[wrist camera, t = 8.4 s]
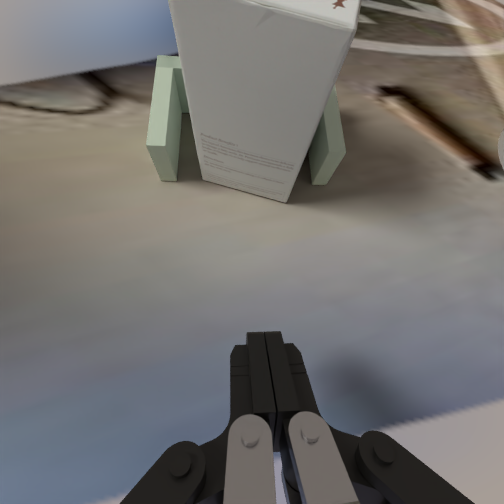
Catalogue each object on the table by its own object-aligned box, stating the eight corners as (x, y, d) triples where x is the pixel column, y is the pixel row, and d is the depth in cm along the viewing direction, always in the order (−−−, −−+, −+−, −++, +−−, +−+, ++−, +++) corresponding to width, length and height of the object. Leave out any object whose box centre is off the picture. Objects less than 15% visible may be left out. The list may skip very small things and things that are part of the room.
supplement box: (305, 136, 23) (385, -77, 11) (286, 206, 21) (361, 29, 9) (226, 113, 24) (223, -122, 12) (198, 180, 21) (157, -30, 9)
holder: (326, 185, 22) (346, 152, 18) (161, 180, 21) (146, 145, 17) (316, 108, 24) (331, 66, 21) (169, 101, 23) (157, 55, 20)
